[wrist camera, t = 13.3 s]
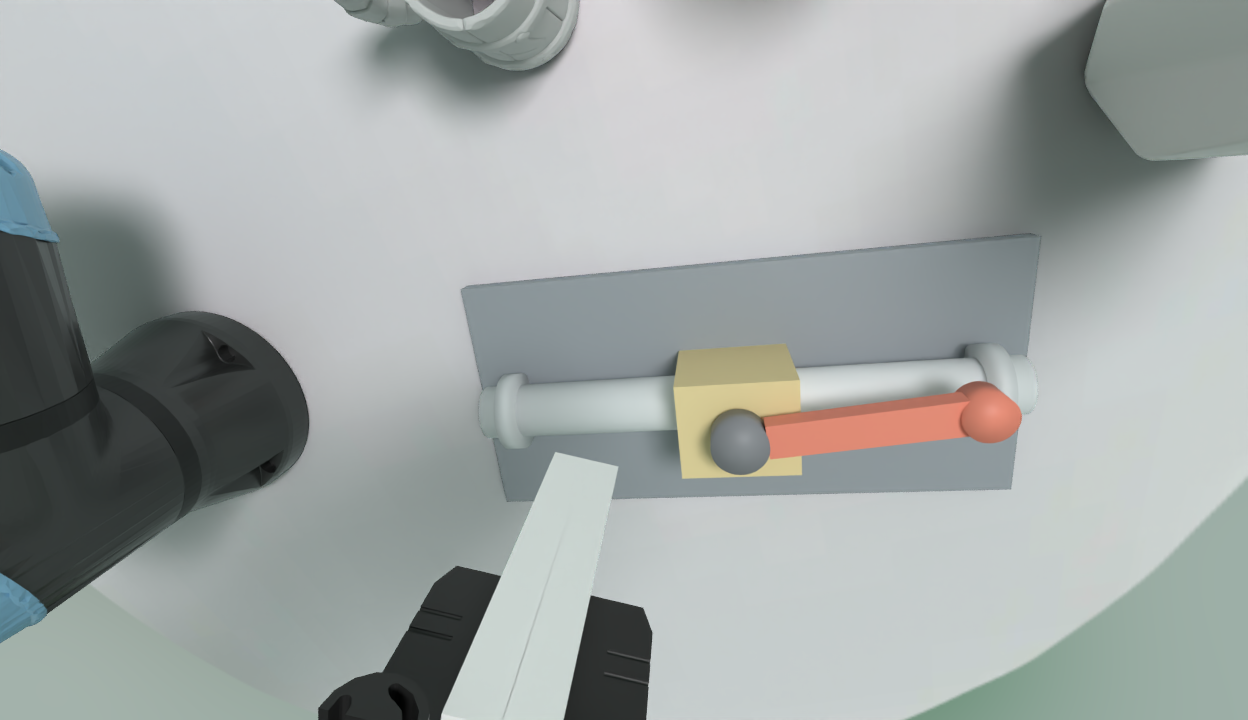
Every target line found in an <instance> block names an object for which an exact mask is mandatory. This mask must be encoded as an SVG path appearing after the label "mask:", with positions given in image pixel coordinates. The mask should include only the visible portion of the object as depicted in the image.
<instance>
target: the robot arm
mask: <svg viewBox="0 0 1248 720" xmlns="http://www.w3.org/2000/svg"><path fill="white" fill-rule="evenodd" d="M56 242H57V243H60V242H59V237H58V235H57V233H55V232H53V231H52V230H51V227H50V224H49V222H48V219H47V216H46V214H45V211H44V208H43V206H42V203H41V201H40V198H39V195H38V192H37V189H36V186H35V183H34V181H33V178H32V177H31V175H30V173H29V172H28V170H27V169H26V168H25V167H24V165H23V164H22V163H21V162H19V161H18V160H17V159H16V158H14V157H13V156H11V155H10V154H8V153H6V152H5V151H3V150H1V149H0V643H1V642H3V641H4V640H6V639H8V638H9V637H11V636H12V635H14V634H16V633H18V632H19V631H21V630H23V629H24V628H25V627H28V626H32V625H35V624H37V623H38V622H40V621H41V620H42V619H43V618H44V617H45V616H47V615H46V614H48V613H49V612H50V611H52V610H53V609H54V608H56V607H57V606H59V605H60V604H62V603H63V602H64V601H66V600H67V599H68V598H70V597H71V596H73V595H74V594H75V593H77V592H78V591H80V590H81V589H82V588H84V587H85V586H87V585H88V584H89V583H91V582H92V581H94V580H95V579H96V578H98V577H99V576H101V575H102V574H103V573H105V572H106V571H108V570H109V569H110V568H112V567H113V566H115V565H116V564H117V563H119V562H120V561H121V560H123V559H124V558H126V557H127V556H128V555H130V554H131V553H133V552H134V551H135V550H137V549H138V548H140V547H141V546H142V545H144V544H145V543H147V542H148V541H149V540H151V539H152V538H154V537H155V536H156V535H158V534H159V533H161V532H162V531H163V530H165V529H166V528H168V527H169V526H170V525H172V524H173V523H175V522H176V521H178V520H179V519H180V518H182V517H183V516H185V515H186V514H188V513H189V512H191V511H194V510H197V509H200V508H203V507H207V506H210V505H213V504H216V503H219V502H222V501H225V500H228V499H231V498H234V497H237V496H241V495H244V494H247V493H250V492H253V491H255V490H258V489H260V488H262V487H264V486H266V485H267V484H269V483H270V482H272V481H273V480H274V479H276V478H277V477H278V476H280V475H281V474H282V473H284V472H285V471H286V470H288V469H289V468H290V467H291V466H292V465H293V464H294V463H295V462H296V461H297V459H298V458H299V456H300V455H301V453H302V451H303V449H304V446H305V443H306V439H307V434H308V413H307V407H306V402H305V399H304V396H303V393H302V390H301V388H300V386H299V383H298V381H297V379H296V378H295V376H294V374H293V372H292V371H291V369H290V368H289V366H288V365H287V363H286V362H285V361H284V359H283V358H282V357H281V356H280V355H279V353H278V352H277V351H276V350H275V349H274V348H273V347H272V346H271V345H270V344H269V343H268V342H266V341H265V340H264V339H263V338H262V337H260V336H259V335H258V334H256V333H255V332H254V331H252V330H251V329H249V328H247V327H246V326H244V325H242V324H240V323H238V322H236V321H234V320H232V319H229V318H227V317H224V316H221V315H217V314H213V313H208V312H198V311H191V312H181V313H177V314H173V315H170V316H167V317H164V318H160V319H157V320H154V321H151V322H148V323H146V324H144V325H142V326H140V327H138V328H136V329H135V330H133V331H132V332H130V333H129V334H128V335H127V336H125V337H124V338H123V339H121V340H120V341H119V342H118V343H116V344H115V345H114V346H113V347H111V348H110V349H109V350H108V351H106V352H105V353H104V354H103V355H101V356H100V357H99V358H97V359H96V360H95V361H94V362H92V363H91V364H90V361H89V358H88V354H87V351H86V348H85V344H84V341H83V337H82V334H81V331H80V327H79V324H78V321H77V317H76V314H75V310H74V307H73V304H72V300H71V296H70V293H69V289H68V285H67V282H66V278H65V274H64V270H63V267H62V263H61V259H60V255H59V252H58V248H57V244H56ZM617 471H618V466H614V465H610V464H605V463H601V462H597V461H592V460H588V459H584V458H579V457H575V456H571V455H566V454H562V453H557V452H555V454H554V456H553V458H552V461H551V463H550V465H549V468H548V470H547V472H546V475H545V477H544V479H543V481H542V484H541V486H540V488H539V491H538V493H537V495H536V498H535V500H534V502H533V504H532V507H531V509H530V511H529V514H528V516H527V518H526V521H525V523H524V525H523V527H522V530H521V532H520V534H519V537H518V539H517V541H516V544H515V546H514V548H513V550H512V553H511V555H510V557H509V560H508V562H507V564H506V567H505V569H504V571H503V573H502V576H498V575H494V574H490V573H486V572H481V571H477V570H473V569H469V568H464V567H460V566H456V567H455V568H453V569H452V570H451V571H449V572H448V573H447V574H445V575H444V576H443V577H442V578H440V579H439V580H438V581H436V582H435V583H434V585H433V586H432V588H431V590H430V592H429V593H428V595H427V597H426V598H425V600H424V602H423V604H422V605H421V608H420V611H418V612H417V614H416V616H415V617H414V619H413V621H412V623H411V624H410V626H409V630H408V631H406V633H405V635H404V636H403V638H402V640H401V641H400V643H399V645H398V647H397V648H396V650H395V652H394V654H393V655H392V657H391V659H390V660H389V662H388V664H387V666H386V667H385V669H384V671H383V672H382V673H379V672H376V673H373V674H369V675H365V676H361V677H357V678H354V679H353V680H351V681H349V682H348V683H346V684H344V685H343V686H341V687H339V688H338V689H336V690H334V691H333V693H332V694H331V695H330V696H329V697H328V698H327V699H326V700H325V701H324V702H323V704H322V705H321V706H320V707H319V708H318V718H319V719H318V720H646V714H647V701H648V683H649V673H650V659H651V646H652V630H651V628H650V625H649V622H648V620H647V617H646V614H645V612H644V609H643V608H641V607H637V606H633V605H629V604H625V603H620V602H616V601H612V600H608V599H603V598H599V597H595V596H591V591H592V586H593V582H594V577H595V573H596V568H597V563H598V559H599V554H600V549H601V545H602V540H603V536H604V531H605V526H606V522H607V517H608V513H609V508H610V503H611V499H612V494H613V490H614V485H615V480H616V476H617Z"/></svg>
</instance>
